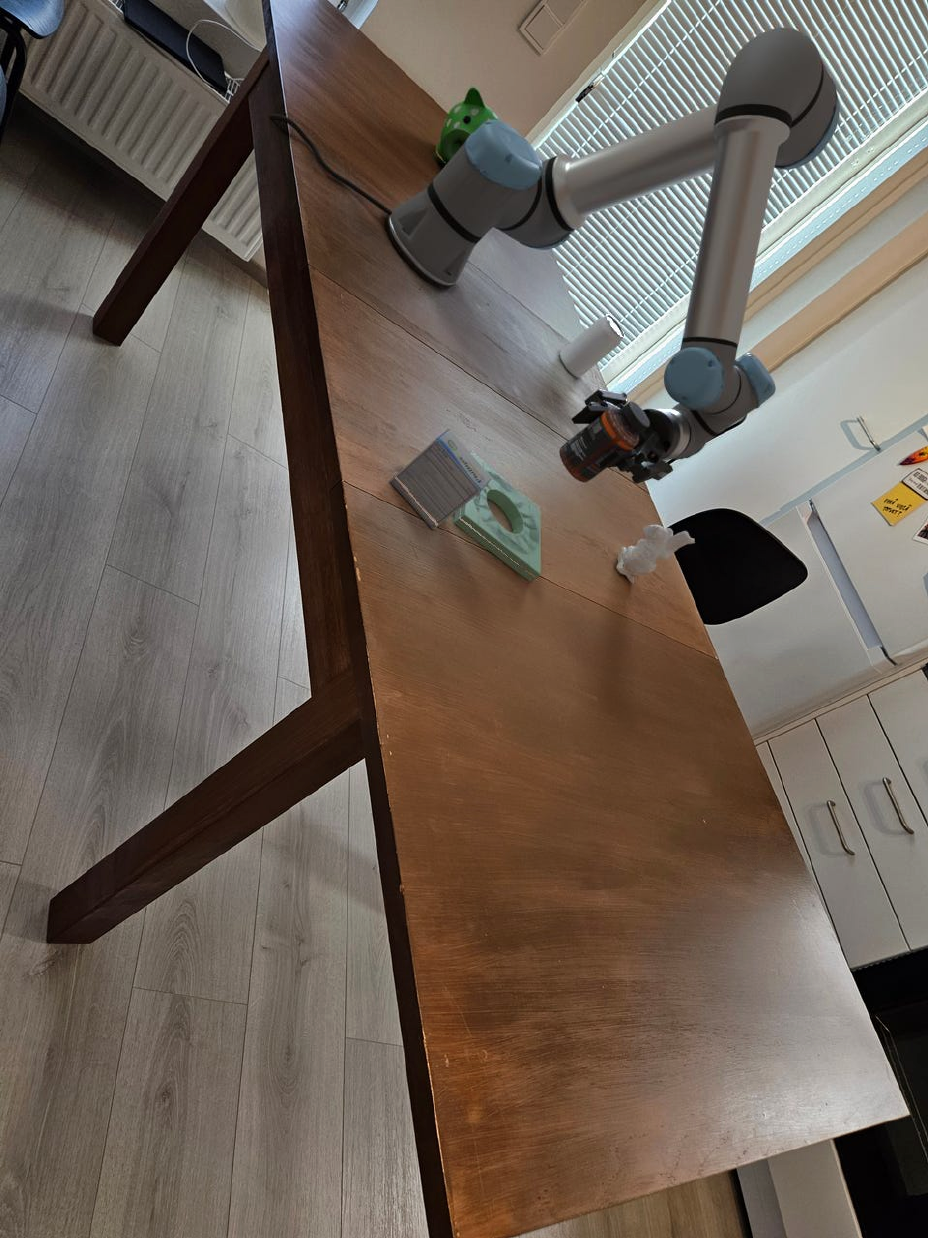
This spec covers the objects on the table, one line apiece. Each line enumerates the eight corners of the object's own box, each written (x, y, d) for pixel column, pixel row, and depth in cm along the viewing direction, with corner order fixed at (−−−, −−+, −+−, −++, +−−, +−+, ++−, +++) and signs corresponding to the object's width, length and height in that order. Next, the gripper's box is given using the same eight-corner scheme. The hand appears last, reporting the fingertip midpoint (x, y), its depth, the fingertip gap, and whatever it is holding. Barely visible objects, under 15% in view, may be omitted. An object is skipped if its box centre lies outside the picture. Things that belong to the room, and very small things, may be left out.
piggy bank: (417, 150, 161) (468, 87, 153) (432, 131, 174) (480, 73, 166) (467, 205, 167) (519, 148, 158) (478, 183, 180) (527, 129, 172)
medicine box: (444, 518, 99) (493, 478, 95) (431, 532, 96) (482, 491, 91) (402, 469, 98) (450, 426, 93) (388, 481, 94) (436, 437, 90)
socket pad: (453, 523, 100) (464, 514, 99) (461, 458, 110) (471, 450, 109) (530, 582, 107) (541, 574, 106) (530, 516, 117) (540, 509, 116)
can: (572, 379, 160) (620, 339, 153) (554, 352, 160) (601, 311, 153) (583, 377, 165) (629, 339, 159) (565, 351, 165) (611, 312, 159)
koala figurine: (633, 564, 135) (693, 526, 129) (642, 595, 132) (704, 558, 125) (602, 544, 130) (663, 503, 124) (611, 576, 126) (674, 536, 120)
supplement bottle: (592, 482, 109) (660, 432, 102) (575, 486, 104) (646, 434, 97) (569, 445, 109) (635, 394, 103) (551, 448, 104) (619, 394, 98)
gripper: (668, 503, 119) (610, 518, 100) (602, 398, 121) (533, 392, 102) (712, 474, 115) (660, 484, 95) (643, 365, 117) (578, 354, 98)
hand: (594, 437), depth 99 cm, fingers closed on supplement bottle, 6 cm apart
